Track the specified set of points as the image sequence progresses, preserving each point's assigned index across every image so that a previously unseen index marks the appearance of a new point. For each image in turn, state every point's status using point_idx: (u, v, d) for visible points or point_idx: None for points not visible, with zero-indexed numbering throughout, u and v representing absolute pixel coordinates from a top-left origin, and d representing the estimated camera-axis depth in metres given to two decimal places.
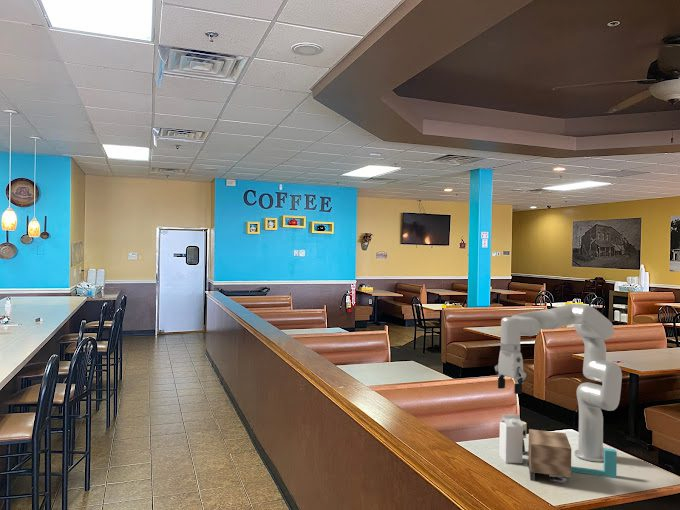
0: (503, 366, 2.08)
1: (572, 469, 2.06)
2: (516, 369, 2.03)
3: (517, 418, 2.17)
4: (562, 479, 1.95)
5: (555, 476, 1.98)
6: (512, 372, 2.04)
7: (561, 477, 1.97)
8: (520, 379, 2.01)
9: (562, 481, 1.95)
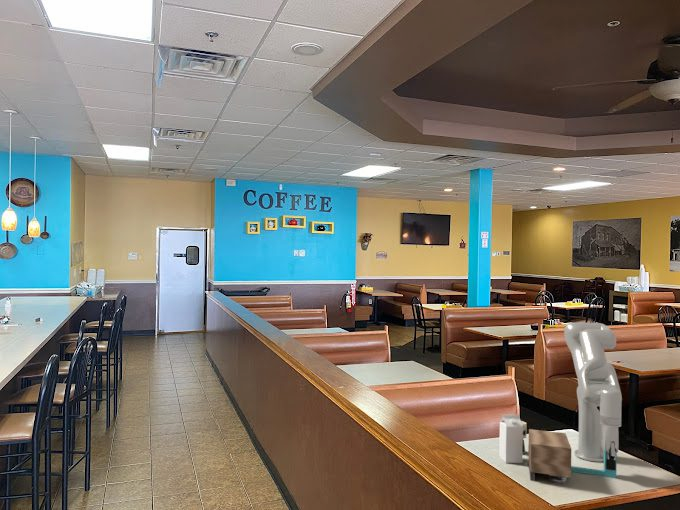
0: None
1: (572, 469, 2.06)
2: None
3: (517, 418, 2.17)
4: (563, 478, 1.96)
5: (555, 476, 1.98)
6: None
7: (561, 476, 1.98)
8: None
9: (564, 481, 1.95)
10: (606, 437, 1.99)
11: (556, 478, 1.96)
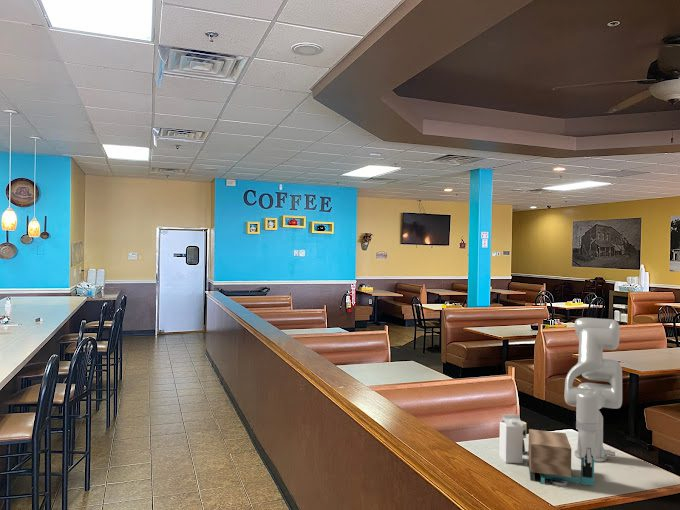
0: None
1: (548, 476, 1.98)
2: None
3: (517, 418, 2.17)
4: (561, 479, 1.95)
5: (558, 481, 1.93)
6: None
7: (556, 479, 1.95)
8: None
9: None
10: (582, 443, 1.91)
11: (564, 481, 1.93)
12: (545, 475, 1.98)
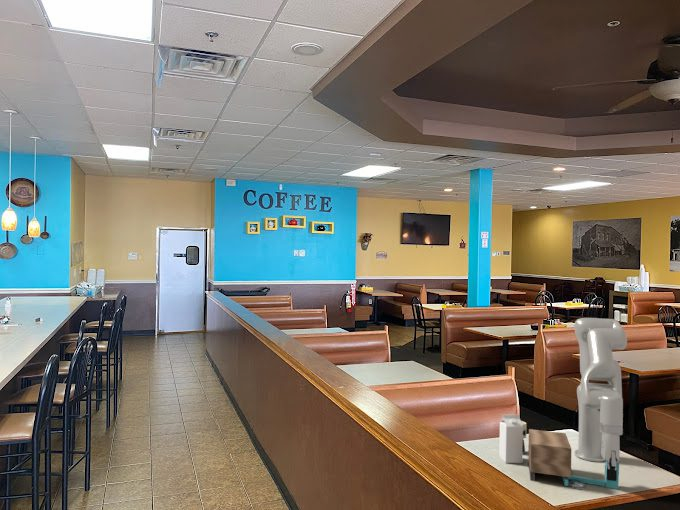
0: None
1: (571, 478, 1.95)
2: None
3: (517, 418, 2.17)
4: (578, 481, 1.94)
5: (575, 483, 1.91)
6: None
7: (573, 481, 1.93)
8: None
9: None
10: (606, 446, 1.89)
11: (581, 483, 1.91)
12: (568, 477, 1.96)
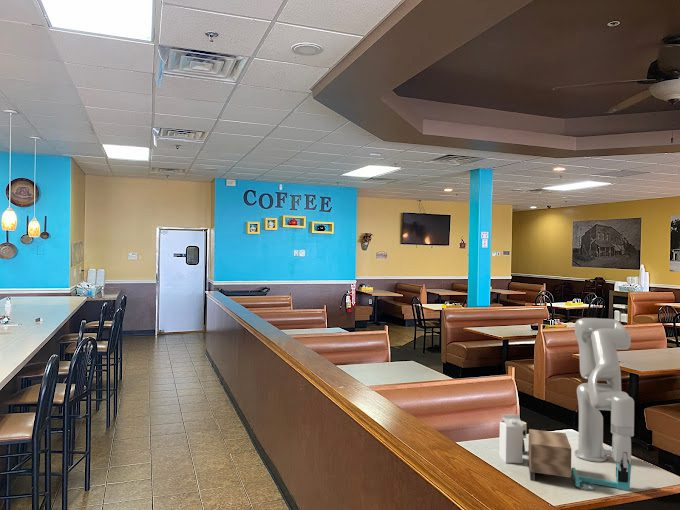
0: None
1: (582, 479, 1.94)
2: None
3: (517, 418, 2.17)
4: (587, 483, 1.93)
5: (585, 485, 1.90)
6: None
7: (583, 483, 1.92)
8: None
9: None
10: (618, 447, 1.87)
11: (591, 485, 1.90)
12: (579, 477, 1.95)
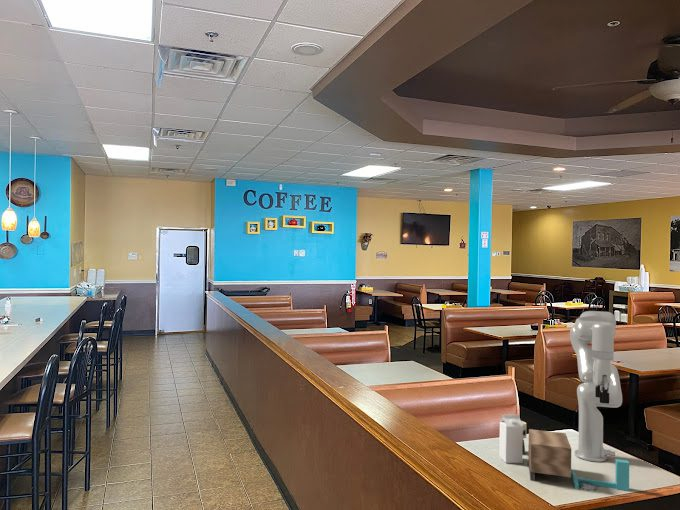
0: None
1: None
2: None
3: (517, 418, 2.17)
4: (588, 483, 1.93)
5: (586, 485, 1.90)
6: None
7: (584, 483, 1.92)
8: None
9: None
10: (598, 371, 1.96)
11: (592, 486, 1.90)
12: (578, 480, 1.95)
